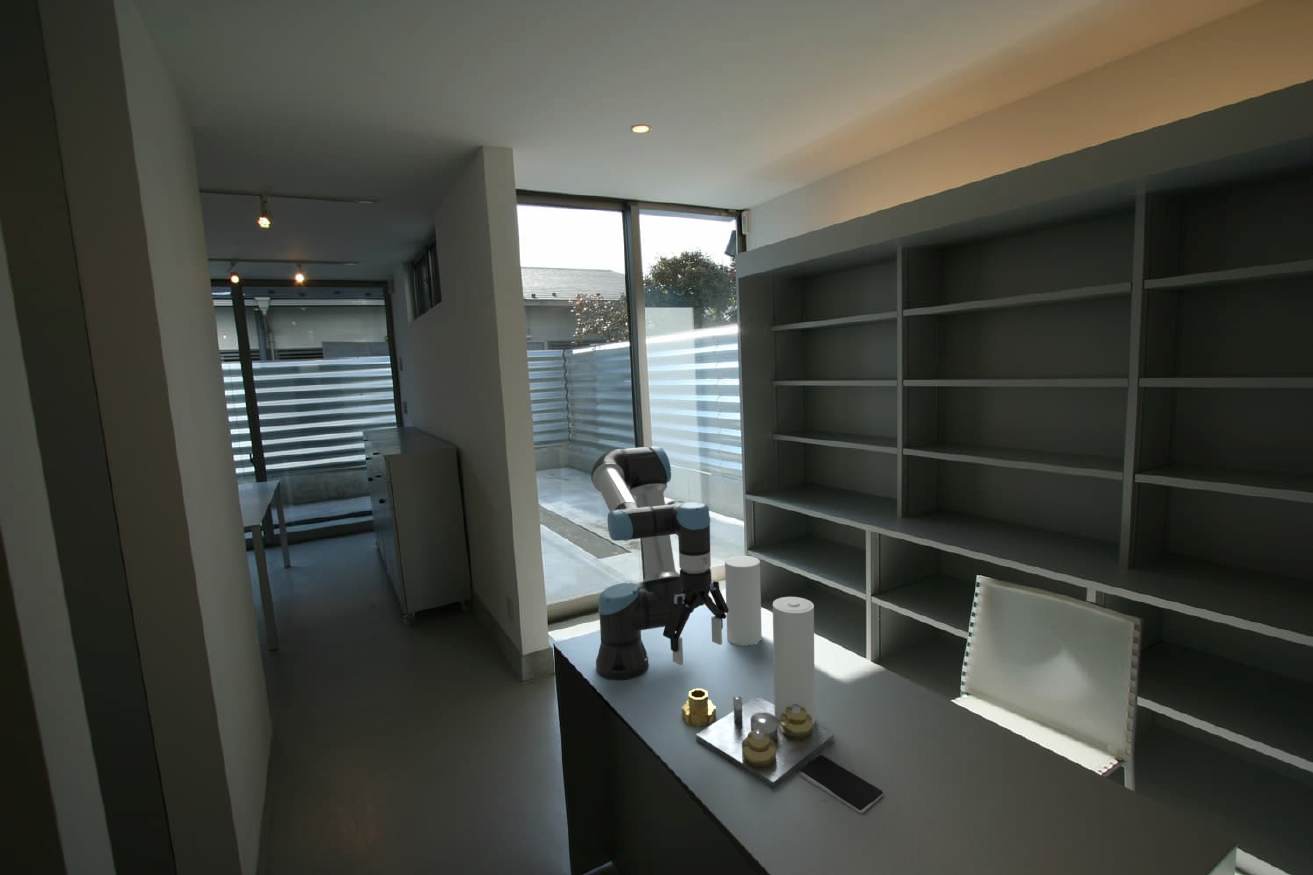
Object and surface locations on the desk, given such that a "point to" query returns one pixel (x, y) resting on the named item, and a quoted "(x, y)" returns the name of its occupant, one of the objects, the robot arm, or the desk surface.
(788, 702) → the cylinder container
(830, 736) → the plate
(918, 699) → the desk surface
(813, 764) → the smartphone
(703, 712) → the gear
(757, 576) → the tall pillar cylinder
